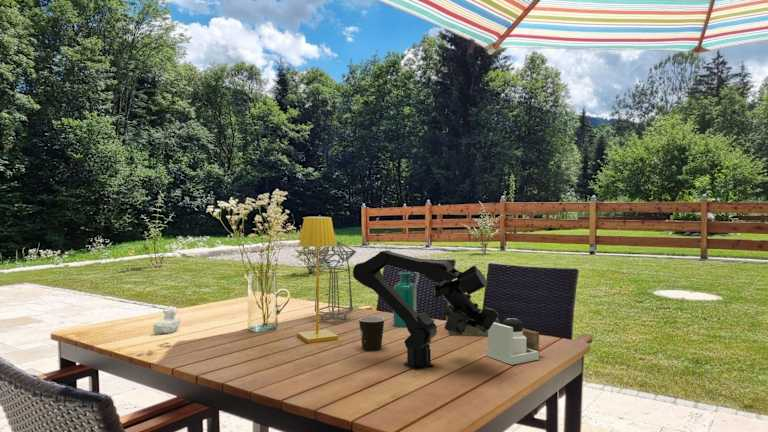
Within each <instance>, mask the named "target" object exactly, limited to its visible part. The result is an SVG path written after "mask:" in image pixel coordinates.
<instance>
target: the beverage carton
mask: <svg viewBox="0 0 768 432" xmlns="http://www.w3.org/2000/svg"><path fill="white" fill-rule="evenodd" d="M494 322H495V323H499V324H501V323H500V320H499V318H498V317H497V318H496V320H495V321H494ZM448 335H449V336H459V337H461V336H463V337H464V336H465V337H488V330H486V332H485V333H483V332H481V331H479V330H478V329H476V328H475V327H472V326H469V324H468V325H467V327H466V330H465V332H463V333H462V334H461V335H458V334H455V333H452V332H450V331H448Z"/></svg>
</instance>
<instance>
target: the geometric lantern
mask: <svg viewBox="0 0 768 432" xmlns="http://www.w3.org/2000/svg"><path fill="white" fill-rule="evenodd" d="M335 240H336V241H337V245H334V246H333V247H332V246H331V249H330V247H325V246H323V248H322V249H321V250H320V251H319V252H318V253H319V269H318V270H319V273H329V282H328V284H329V286H328V306H325V307H321V308H318V309H319V310H318V311H319V316H320V322H323V323H332V324H337V323H338V324H339V323H342V322H344V321H347V316H348V315H349V314H350V313H352V311H354V309H353V299H352V298H353V296H352V284H351V268H350V265H349V260H350V259H351V258H352V257H353V256H354V255H355V254H356V253H357V251H356V250H355V249H352V248H351V247H349V246H347V245H345V243H342V242H340V241H338V240H337V239H335ZM344 247H345V248H347V249H348V250H346V249H344ZM349 250H350V251H349ZM316 251H317V250H316V248H315V249H313V250H311V251H310V252H309V254H311V255H312V256H313V257H315V258H316V259H317V256H318V255H317V254H316ZM329 252H332V253H329ZM335 255H336V256H338V257H339V259H338V260H337V261H336V264H335V265H334V267H332V266H331V264H330V263H329V259H331V258H333V257H334V256H335ZM320 256H321V257H320ZM327 256H328V257H327ZM326 257H327V258H326ZM340 261H342V262H341V263H340V265H339V268H338V267H337V265H338V264H339V262H340ZM344 262H346V263H347V268H341V267H342V265H343V264H344ZM322 263H326V265H327V268H323V269H321V266H322ZM340 269H341V270H340ZM327 270H329V271H327ZM336 270H337V271H336ZM339 270H340V271H339ZM342 272H343V273H344V272H347V273H348V285H349V287H348V288H349V289H348V290H349V307H345V306H340V297H339V296H340V295H339V279H338V277H339V276H338V274H339V273H342ZM315 287H316V289H315V296H316V295H317V286H315ZM336 294H337V295H336ZM336 297H337V306H336ZM330 300H331V301H330ZM330 304H331V305H330ZM330 308H331V309H330ZM335 308H337V311H338V312H335V313H334V311H335ZM325 309H328V312H325V311H321V310H325ZM340 309H345V311H342V312H340V311H341V310H340ZM314 312H315V313H316V300H315V303H314ZM320 313H321V314H324V315H321V314H320ZM328 315H329V316H328ZM336 315H337V316H336ZM339 315H340V316H339ZM343 317H344V318H343ZM330 319H332V320H334V321H328V320H330Z"/></svg>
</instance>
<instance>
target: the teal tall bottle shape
mask: <svg viewBox="0 0 768 432" xmlns="http://www.w3.org/2000/svg"><path fill="white" fill-rule="evenodd" d="M398 275H400V280H399V282H398V283H396V284H395V285H394V286H393V289H394V290H395V291H396V292H397V293H398V294H399V295H400V296H401V298H402V299H403V300H404V301H405V302H406V303H407V304H408V305H409V306H410V307H411V308H412V309H413V310H414V311H416V312H417V284H418V283H419V279H420V273H418V272H413V273H412V272H410V271H401V272H398ZM414 275H415V277H414V279H415V280H414V282H410V277H412V276H414ZM392 312H393V313H392V315H393V317H392V319H393V322H392V323H393V326H394V327H395V328H396V327H397V328H407V327H406V324H405V322H404V321H403V320H402V319H401V318H400V317H399V316H398V315H397V314H396V313H395V312H394V311H393V310H392Z"/></svg>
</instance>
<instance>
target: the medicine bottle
mask: <svg viewBox="0 0 768 432" xmlns="http://www.w3.org/2000/svg"><path fill="white" fill-rule="evenodd" d="M502 325H506V326H510V327H513V355H518V354H523V353H527V338H526V337H525V336H524V335H523V334H522V333H523V328H524V327H523V325H524V322H523V321H522V320H521V319H520V318H506V319H504V320H503V322H502Z"/></svg>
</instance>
